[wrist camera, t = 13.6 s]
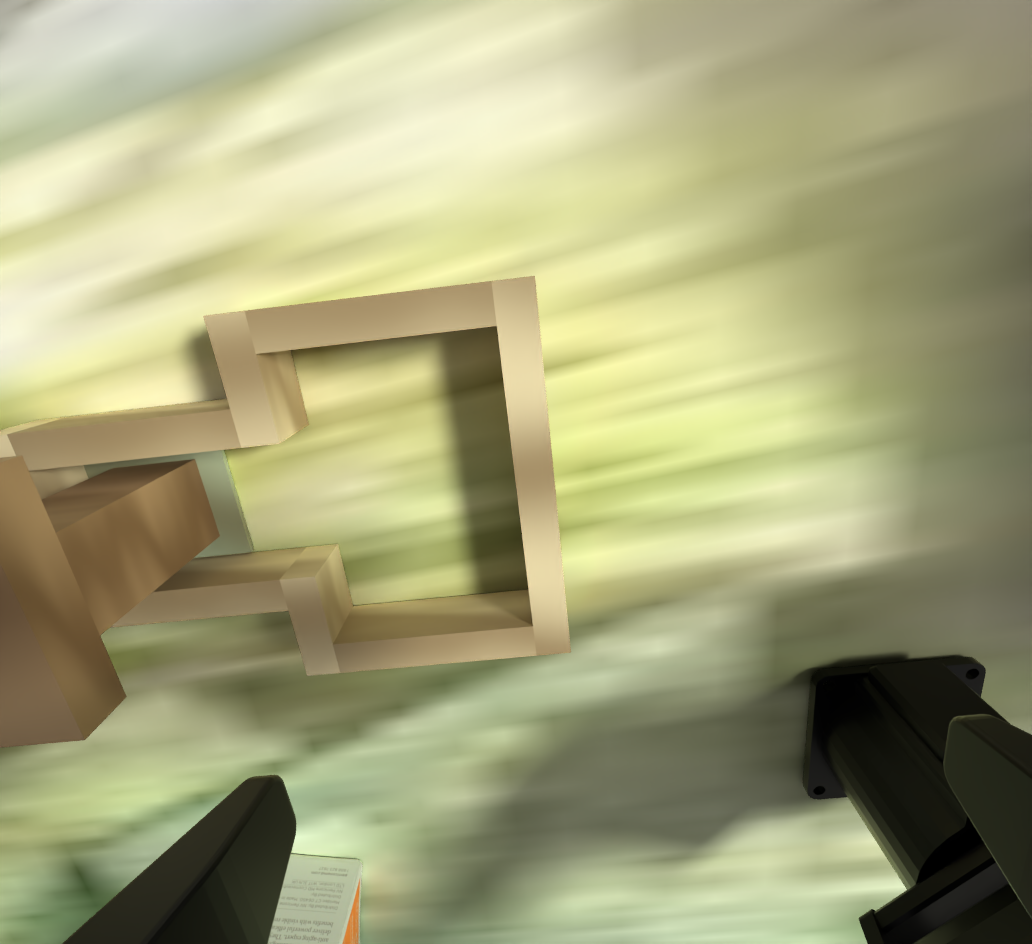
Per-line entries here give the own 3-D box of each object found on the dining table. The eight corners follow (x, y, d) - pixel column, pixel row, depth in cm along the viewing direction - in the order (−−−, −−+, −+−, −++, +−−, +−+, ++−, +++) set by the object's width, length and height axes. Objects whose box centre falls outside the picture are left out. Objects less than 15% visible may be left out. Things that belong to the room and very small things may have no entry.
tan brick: (235, 583, 21) (84, 740, 13) (159, 591, 21) (-30, 750, 14) (176, 402, 18) (-42, 476, 11) (92, 413, 18) (-176, 491, 11)
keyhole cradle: (565, 612, 21) (570, 652, 19) (131, 653, 22) (86, 695, 20) (533, 277, 17) (534, 275, 15) (3, 341, 18) (-72, 348, 16)
